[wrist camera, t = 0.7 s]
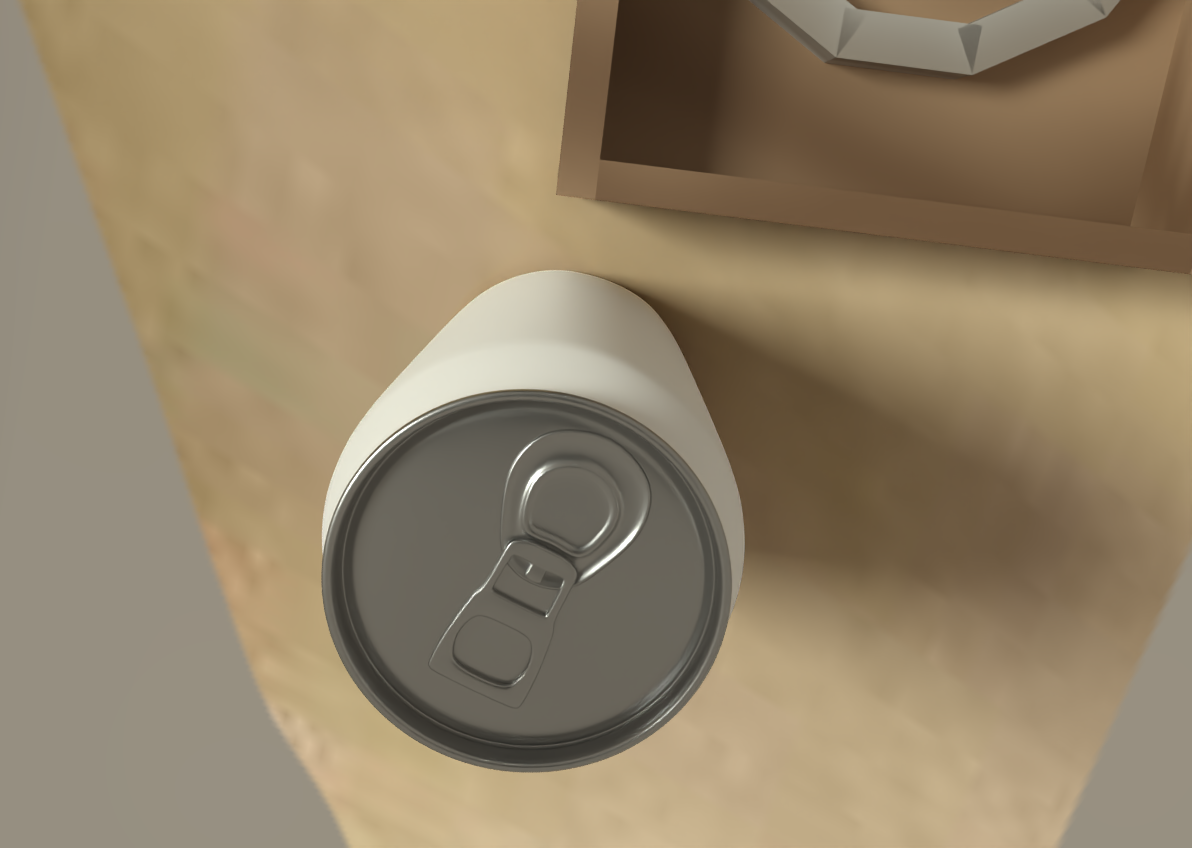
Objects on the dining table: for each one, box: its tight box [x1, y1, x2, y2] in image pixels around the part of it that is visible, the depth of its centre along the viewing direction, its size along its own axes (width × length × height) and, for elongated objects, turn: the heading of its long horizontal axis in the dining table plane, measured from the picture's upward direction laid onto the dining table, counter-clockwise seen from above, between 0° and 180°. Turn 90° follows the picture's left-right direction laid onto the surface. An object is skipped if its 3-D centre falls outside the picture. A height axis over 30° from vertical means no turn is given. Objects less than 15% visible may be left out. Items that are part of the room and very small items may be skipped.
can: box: [322, 270, 745, 772], centre depth 20 cm, size 6×6×12 cm
